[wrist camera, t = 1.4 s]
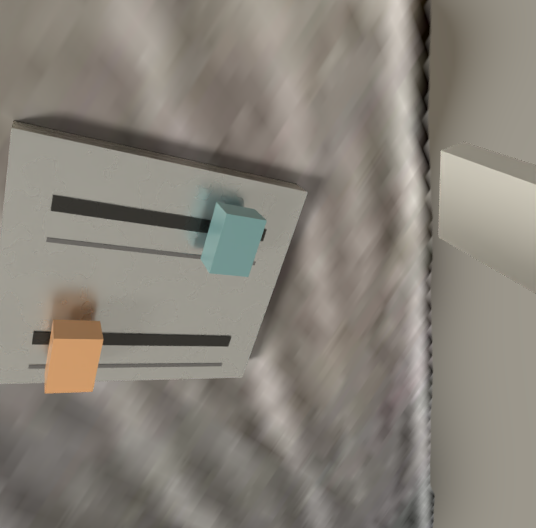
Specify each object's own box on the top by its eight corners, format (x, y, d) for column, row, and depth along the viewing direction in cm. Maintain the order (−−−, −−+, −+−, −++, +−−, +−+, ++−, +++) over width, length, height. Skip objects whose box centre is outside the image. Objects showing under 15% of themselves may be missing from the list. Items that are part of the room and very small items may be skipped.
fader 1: (44, 364, 32) (44, 393, 30) (52, 312, 31) (53, 338, 28) (89, 364, 34) (92, 391, 31) (98, 314, 32) (103, 339, 30)
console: (-12, 366, 33) (-15, 385, 31) (13, 120, 26) (11, 128, 25) (234, 363, 43) (242, 378, 41) (296, 184, 36) (308, 192, 35)
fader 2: (197, 254, 33) (209, 273, 31) (212, 198, 32) (226, 213, 29) (234, 258, 35) (248, 276, 32) (250, 205, 33) (266, 220, 31)
